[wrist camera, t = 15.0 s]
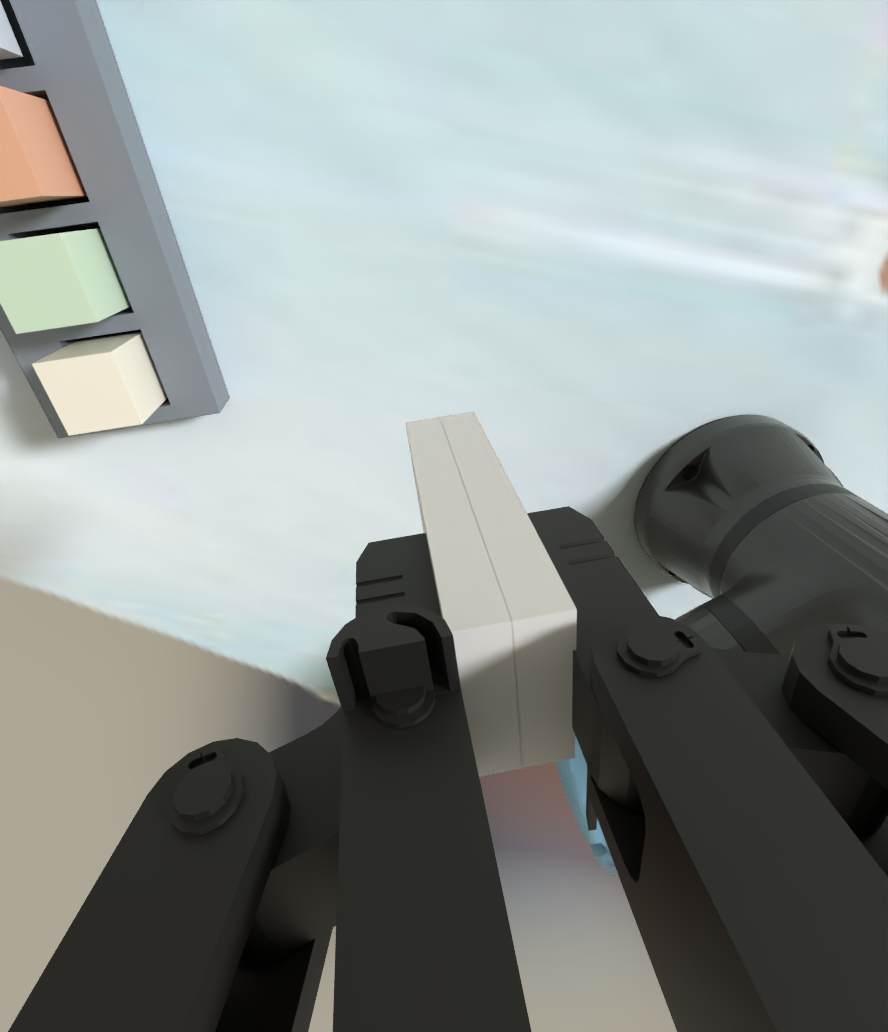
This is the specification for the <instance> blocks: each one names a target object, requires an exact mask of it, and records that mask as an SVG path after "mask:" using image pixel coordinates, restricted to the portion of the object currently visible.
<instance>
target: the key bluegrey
mask: <svg viewBox="0 0 888 1032" xmlns="http://www.w3.org/2000/svg"><path fill="white" fill-rule="evenodd" d="M18 57H23V55H22V53H21V50H20V48H19V45H18V43H17V40H16V38H15V36H14V33H13V31H12V28H11V26H10V23H9V21H8V18H7V16H6V13H5V11H4V8H3V6H2V3H1V1H0V60H1V59H9V58H18Z"/></svg>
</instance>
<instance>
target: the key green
mask: <svg viewBox="0 0 888 1032" xmlns="http://www.w3.org/2000/svg"><path fill="white" fill-rule="evenodd" d="M0 304H1V306H2V308H3V310H4V311H5V313H6V315H7V317H8V319H9V321H10V323H11V325H12V327H13V329H14V331H15V333H16V334H20V333H26V332H33V331H40V330H47V329H54V328H60V327H67V326H74V325H81V324H88V323H94V322H99V321H101V320H103V319H105V318H107V317H109V316H111V315H113V314H116V313H118V312H120V311H122V310H124V309H126V308H128V307H130V306H131V304H130V301H129V299H128V296H127V294H126V291H125V289H124V286H123V284H122V281H121V279H120V276H119V274H118V271H117V269H116V266H115V264H114V261H113V259H112V256H111V254H110V251H109V249H108V246H107V244H106V241H105V239H104V236H103V234H102V231H101V229H100V228H97V229H89V230H80V231H72V232H64V233H56V234H49V235H42V236H34V237H27V238H20V239H13V240H5V241H0Z"/></svg>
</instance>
